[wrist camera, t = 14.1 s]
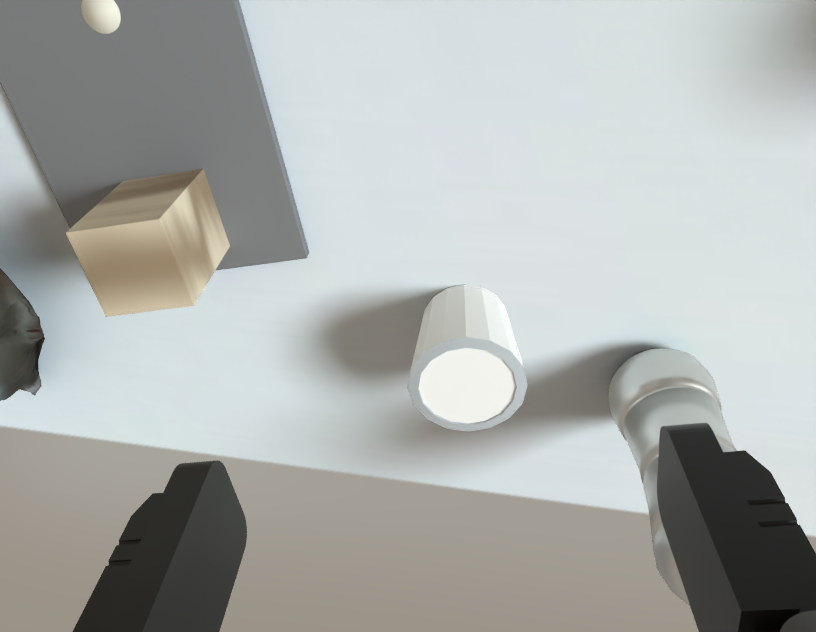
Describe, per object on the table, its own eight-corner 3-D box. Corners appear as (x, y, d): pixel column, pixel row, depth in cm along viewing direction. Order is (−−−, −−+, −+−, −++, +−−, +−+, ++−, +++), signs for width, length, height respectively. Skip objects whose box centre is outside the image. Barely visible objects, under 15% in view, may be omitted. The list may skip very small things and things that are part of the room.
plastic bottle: (710, 397, 47) (856, 685, 30) (611, 420, 48) (698, 706, 32) (695, 323, 44) (849, 598, 27) (591, 351, 45) (675, 627, 28)
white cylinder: (535, 295, 43) (548, 360, 37) (493, 375, 47) (499, 445, 41) (433, 262, 42) (431, 323, 36) (399, 346, 46) (391, 414, 40)
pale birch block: (122, 181, 40) (65, 232, 34) (203, 168, 39) (159, 219, 33) (154, 256, 42) (105, 316, 36) (230, 246, 42) (193, 305, 36)
